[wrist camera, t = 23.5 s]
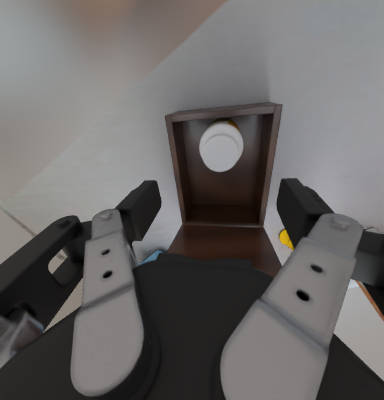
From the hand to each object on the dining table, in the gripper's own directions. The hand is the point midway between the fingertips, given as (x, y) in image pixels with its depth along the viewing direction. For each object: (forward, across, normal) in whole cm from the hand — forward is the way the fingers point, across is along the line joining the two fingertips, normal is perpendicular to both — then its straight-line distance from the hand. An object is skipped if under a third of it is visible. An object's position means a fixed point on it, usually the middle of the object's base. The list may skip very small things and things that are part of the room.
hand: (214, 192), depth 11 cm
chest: (+19, 0, +5) cm, 20 cm away
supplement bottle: (+18, 0, 0) cm, 18 cm away
